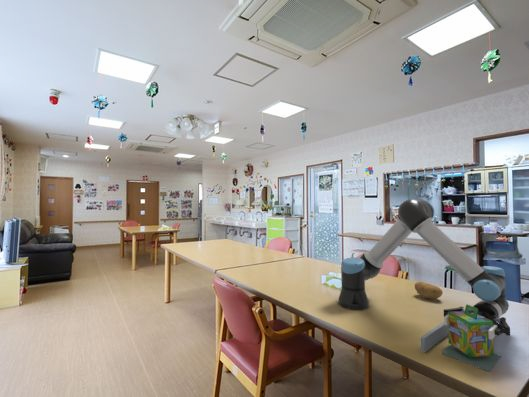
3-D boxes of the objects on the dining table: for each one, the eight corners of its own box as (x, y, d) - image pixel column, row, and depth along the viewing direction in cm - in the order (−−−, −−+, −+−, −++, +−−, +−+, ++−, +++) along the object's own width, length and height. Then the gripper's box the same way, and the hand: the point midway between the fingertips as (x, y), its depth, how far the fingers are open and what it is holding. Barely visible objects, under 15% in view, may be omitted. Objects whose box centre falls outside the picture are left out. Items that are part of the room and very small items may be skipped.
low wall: (420, 351, 95) (420, 337, 95) (445, 332, 108) (445, 320, 108) (424, 352, 94) (424, 338, 94) (449, 334, 107) (448, 321, 107)
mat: (442, 353, 94) (442, 352, 94) (456, 341, 101) (456, 340, 101) (489, 371, 83) (489, 370, 83) (500, 357, 91) (500, 356, 91)
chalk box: (447, 343, 96) (446, 302, 97) (470, 341, 97) (469, 301, 98) (470, 358, 87) (468, 312, 87) (495, 356, 88) (494, 311, 88)
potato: (436, 304, 139) (436, 288, 139) (411, 296, 151) (410, 281, 151) (447, 300, 143) (446, 285, 143) (421, 293, 156) (421, 279, 156)
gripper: (530, 333, 93) (514, 355, 80) (450, 311, 113) (428, 326, 100) (529, 311, 93) (513, 329, 81) (450, 293, 113) (427, 305, 100)
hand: (466, 327), depth 90 cm, fingers closed on chalk box, 12 cm apart
